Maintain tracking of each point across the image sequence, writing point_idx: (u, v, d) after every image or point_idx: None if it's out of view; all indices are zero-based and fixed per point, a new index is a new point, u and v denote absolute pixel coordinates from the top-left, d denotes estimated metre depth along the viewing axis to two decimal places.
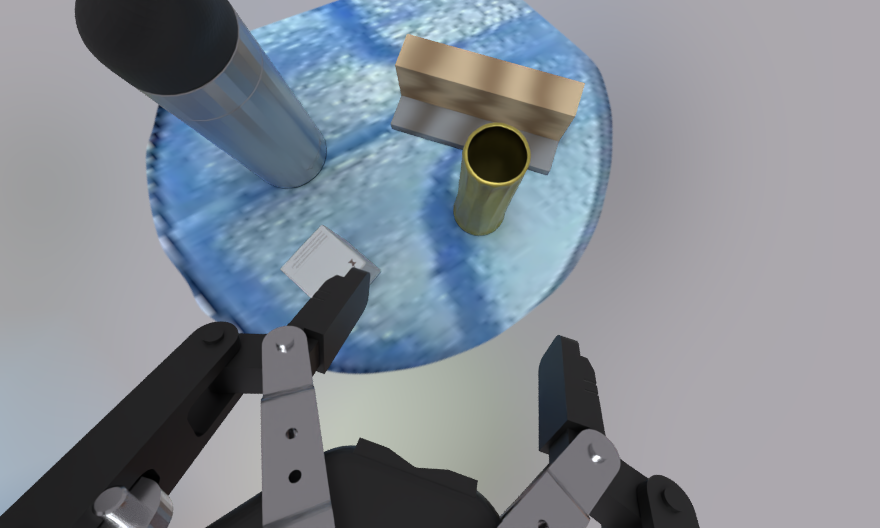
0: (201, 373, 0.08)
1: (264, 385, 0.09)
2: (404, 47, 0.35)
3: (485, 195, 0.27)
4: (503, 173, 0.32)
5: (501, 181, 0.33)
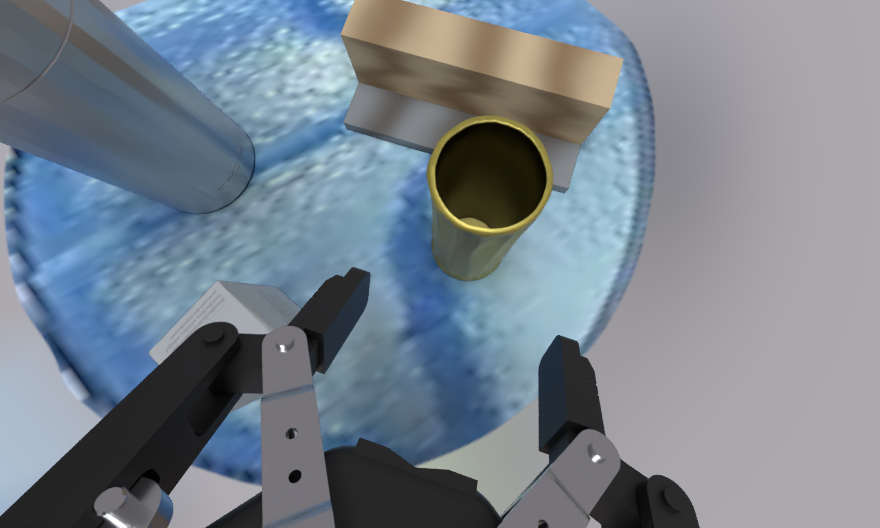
0: (201, 373, 0.08)
1: (264, 385, 0.09)
2: (354, 8, 0.24)
3: (471, 244, 0.15)
4: (502, 197, 0.20)
5: (499, 208, 0.22)
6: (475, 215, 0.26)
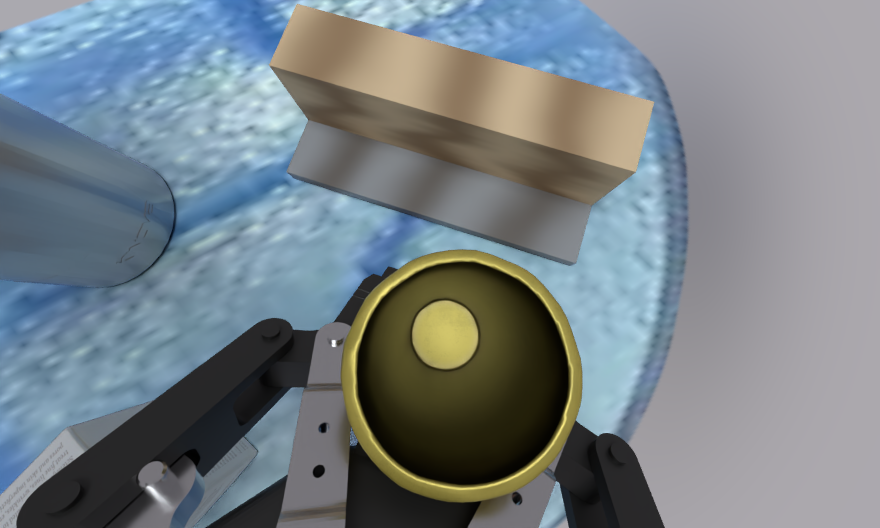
0: (253, 366, 0.09)
1: (310, 375, 0.09)
2: (289, 30, 0.18)
3: None
4: (488, 308, 0.14)
5: (484, 312, 0.16)
6: (454, 299, 0.20)
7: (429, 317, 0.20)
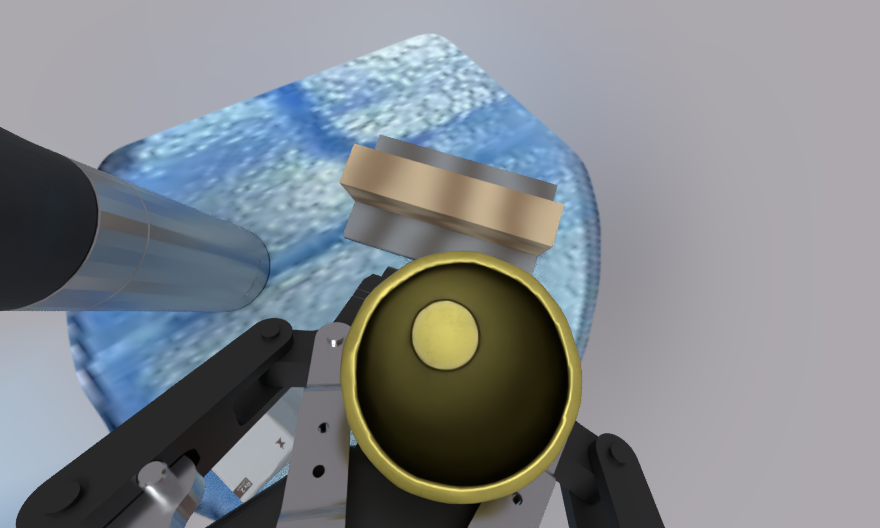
0: (252, 366, 0.09)
1: (310, 375, 0.09)
2: (350, 160, 0.30)
3: None
4: (488, 309, 0.14)
5: (484, 312, 0.16)
6: (454, 300, 0.20)
7: (429, 317, 0.20)
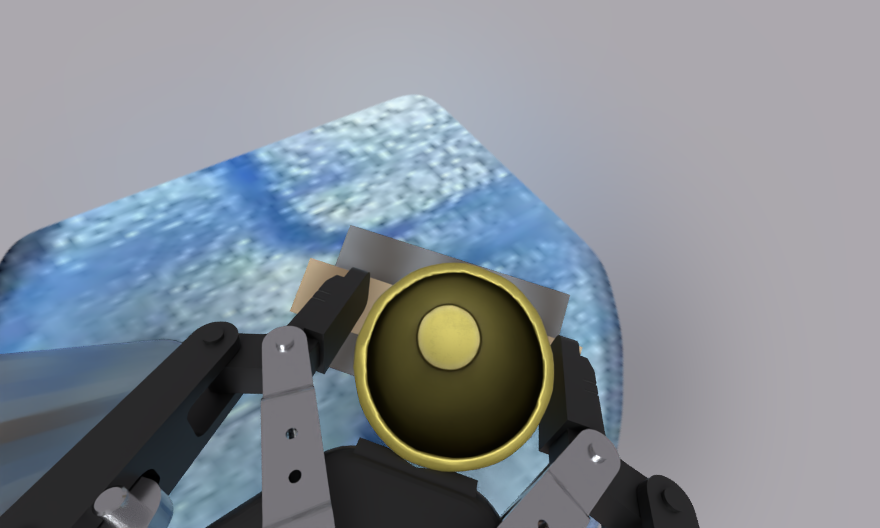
0: (201, 373, 0.08)
1: (264, 385, 0.09)
2: (305, 281, 0.23)
3: None
4: (486, 312, 0.15)
5: (483, 316, 0.17)
6: (456, 304, 0.21)
7: (434, 321, 0.22)
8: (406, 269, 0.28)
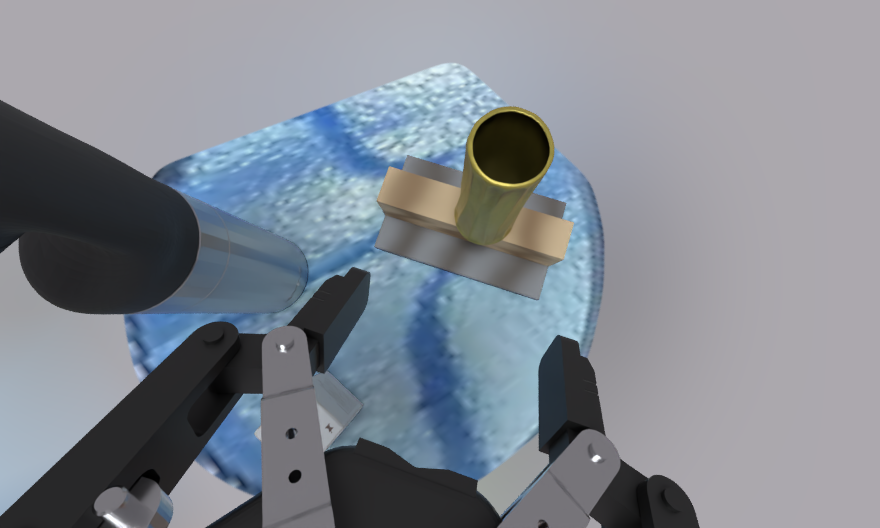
0: (201, 373, 0.08)
1: (264, 385, 0.08)
2: (386, 181, 0.34)
3: (495, 199, 0.21)
4: (515, 172, 0.26)
5: (512, 182, 0.28)
6: None
7: None
8: None
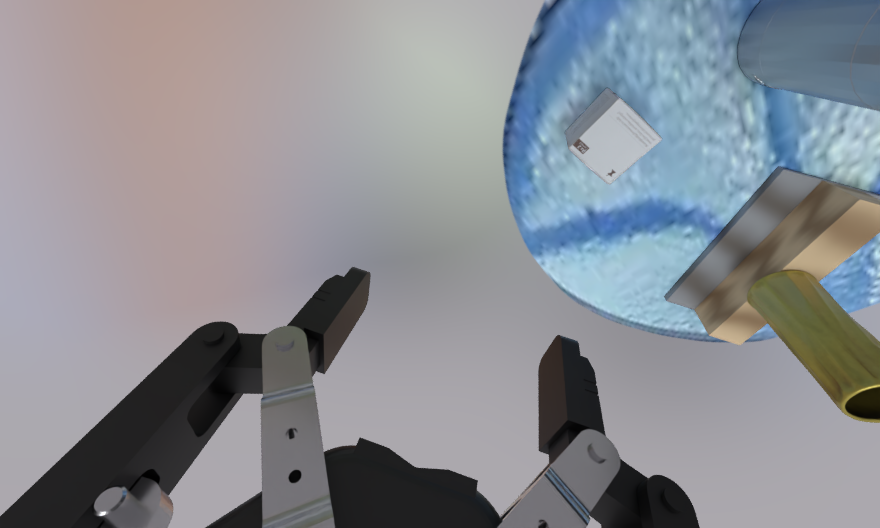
0: (201, 373, 0.08)
1: (264, 385, 0.09)
2: None
3: (831, 370, 0.28)
4: None
5: None
6: None
7: None
8: None
